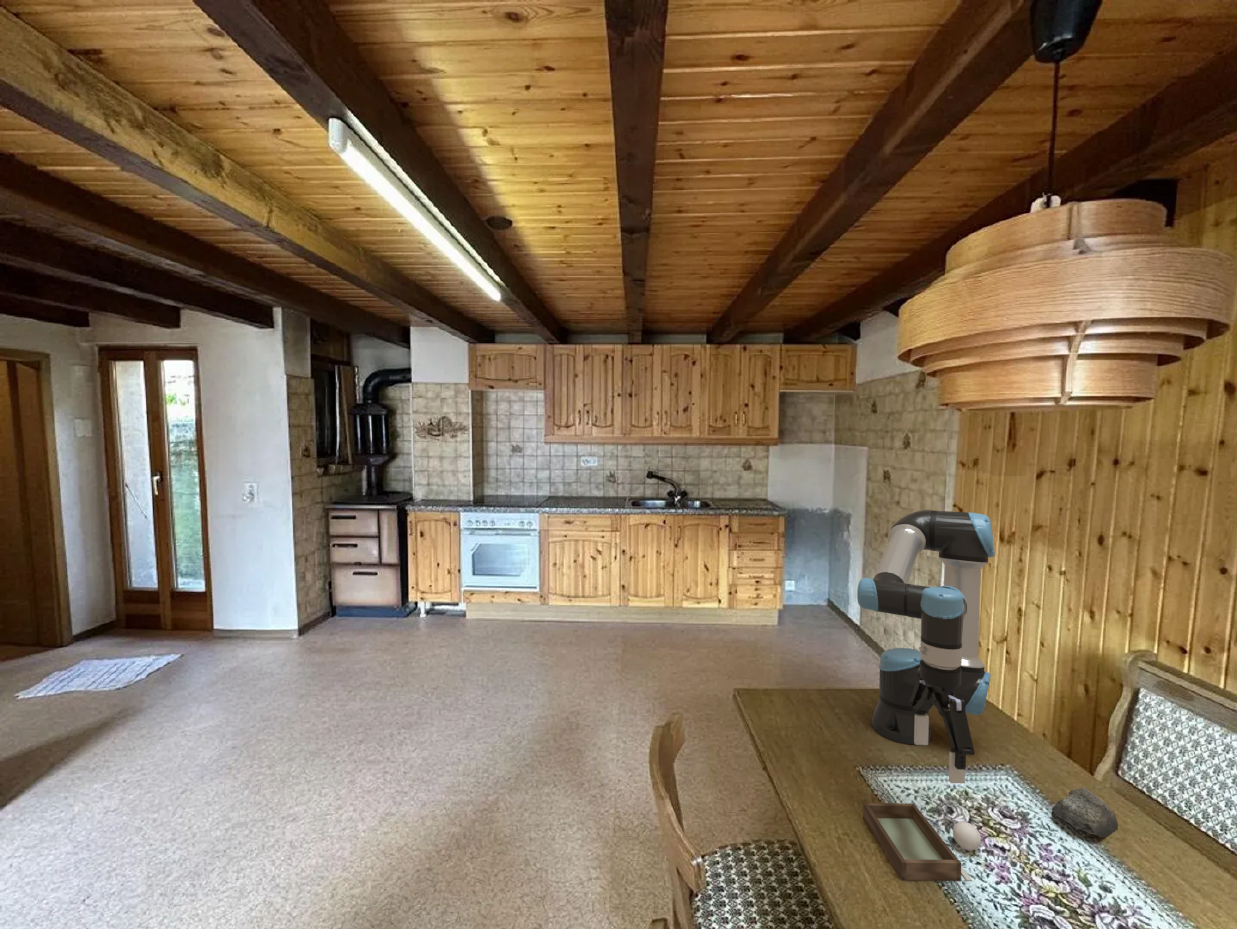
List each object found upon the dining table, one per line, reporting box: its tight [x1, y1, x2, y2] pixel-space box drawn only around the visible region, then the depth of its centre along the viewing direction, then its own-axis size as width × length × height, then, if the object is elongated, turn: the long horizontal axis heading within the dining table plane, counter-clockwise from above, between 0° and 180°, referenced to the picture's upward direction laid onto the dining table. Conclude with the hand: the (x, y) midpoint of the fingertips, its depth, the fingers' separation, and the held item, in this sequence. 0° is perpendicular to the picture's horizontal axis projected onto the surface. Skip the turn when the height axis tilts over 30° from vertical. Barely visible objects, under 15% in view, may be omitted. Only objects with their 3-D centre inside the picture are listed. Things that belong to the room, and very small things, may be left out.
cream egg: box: [952, 821, 982, 852], centre depth 110 cm, size 5×5×5 cm
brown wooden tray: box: [862, 802, 962, 882], centre depth 110 cm, size 11×17×4 cm, turn 179°
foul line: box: [961, 866, 973, 882], centre depth 110 cm, size 1×17×1 cm, turn 179°
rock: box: [1050, 787, 1119, 839], centre depth 117 cm, size 13×9×6 cm, turn 116°
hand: (937, 762), depth 112 cm, fingers open, 13 cm apart
